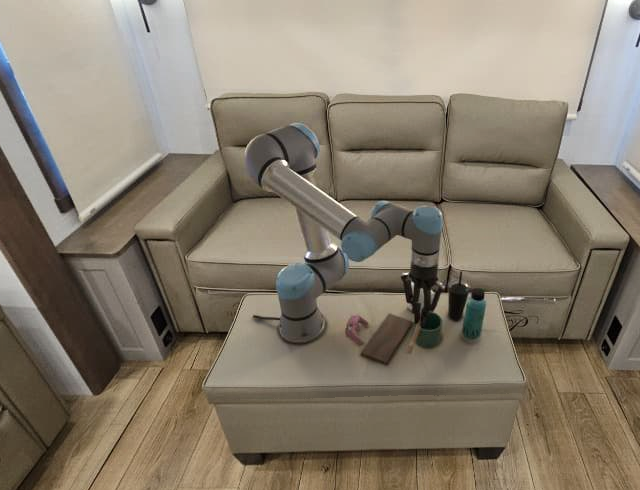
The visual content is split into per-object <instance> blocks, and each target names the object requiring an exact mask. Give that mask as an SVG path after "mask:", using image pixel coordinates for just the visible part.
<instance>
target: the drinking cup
mask: <svg viewBox="0 0 640 490" xmlns="http://www.w3.org/2000/svg"><path fill="white" fill-rule="evenodd" d="M462 276H463V271H462V270H460V271H459V277H458V279H456V278H455V279H452V280H451V281H449V282H448V283H447V289H448V303H447V305H448V311H447V312H448V313H447V314H448V316H447V317H448V318H449V319H450V320H452V321H460V320H461V319H462V318H463V315H464V312H465V309H466V304H467V299H468V298H469V294H470V291H471V288H472V287H471V285H470V284H469V282H467V281H466V280H464V279H462Z"/></svg>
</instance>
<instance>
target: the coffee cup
mask: <svg viewBox="0 0 640 490" xmlns="http://www.w3.org/2000/svg"><path fill="white" fill-rule="evenodd" d="M420 315H421V313H420ZM417 323H418V322H417ZM413 325H414V326H413V332H414V331H415V328H416V326H417V324H414V323H413ZM442 329H443V319H442V317H441V316H440V315H439V314H438V313H437V312H435V311H434V312H430V314H429V316H428V318H426V322H425V323H424V325H423V327H422V326H421V328H420V331H419V333H418V336H417V339H416V341H415V344H417V345H418V346H420V347H422V348H433V347H436V346H437V345H439V343H441V340H442V332H443V330H442Z"/></svg>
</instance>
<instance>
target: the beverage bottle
mask: <svg viewBox="0 0 640 490" xmlns="http://www.w3.org/2000/svg"><path fill="white" fill-rule="evenodd" d="M485 294H486V293H485V290H484V289H482V288H480V287H474V288H473V289H472V291H471V294H470V296H468V297H467V301H466V304H465V309H464V317H463V322H462V327H461V334H462V336H463V337H464V339H467V340H469V341H474V340H478V339H479V338H480V336H481V334H482V330H483V326H484V324H483V323H484V319H485V315H486V313H485V312H486V307H487V301H486V299H485Z"/></svg>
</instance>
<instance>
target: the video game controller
mask: <svg viewBox="0 0 640 490" xmlns="http://www.w3.org/2000/svg"><path fill="white" fill-rule="evenodd" d="M360 325H362V326H365V327H367V326H369V321H368V320H367V319H366V318H364V317H363V316H362V315H360V314H357V313H355V314H351V315H350V317H349V318H348V320H347V323H346V327H345V328H344V334H345V336H346V337H347V338H349V339H350V340H351V341H352V342H354V343H356V344H360V345H361V344H362V343H363V339H362V338H360V337H359V336H358V335H357V334H358V333H357V331H359V330H360Z"/></svg>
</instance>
